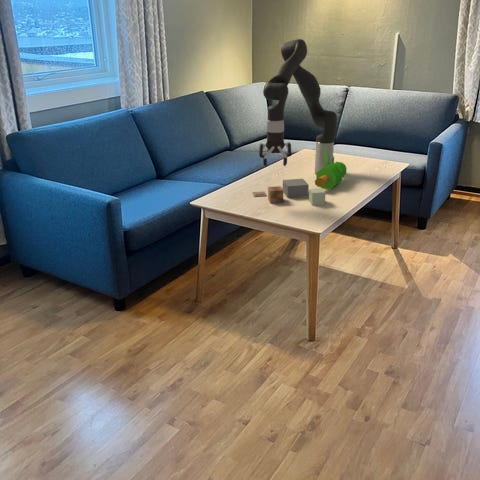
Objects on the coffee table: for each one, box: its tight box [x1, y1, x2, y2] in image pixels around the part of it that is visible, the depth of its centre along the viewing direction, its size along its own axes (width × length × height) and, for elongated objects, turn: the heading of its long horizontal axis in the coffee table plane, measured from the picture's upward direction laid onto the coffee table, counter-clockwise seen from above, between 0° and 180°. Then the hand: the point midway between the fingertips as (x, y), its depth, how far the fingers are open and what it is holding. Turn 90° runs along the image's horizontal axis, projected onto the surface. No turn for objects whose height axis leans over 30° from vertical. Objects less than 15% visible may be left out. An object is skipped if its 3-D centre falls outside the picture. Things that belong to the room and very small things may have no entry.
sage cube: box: [308, 187, 327, 206], centre depth 240 cm, size 6×6×6 cm
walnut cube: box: [267, 185, 284, 204], centre depth 243 cm, size 6×6×6 cm
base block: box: [282, 178, 310, 199], centre depth 252 cm, size 10×10×6 cm
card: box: [252, 190, 268, 198], centre depth 253 cm, size 6×6×1 cm
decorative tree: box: [314, 161, 348, 190], centre depth 263 cm, size 11×12×30 cm
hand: (274, 166), depth 238 cm, fingers open, 8 cm apart
